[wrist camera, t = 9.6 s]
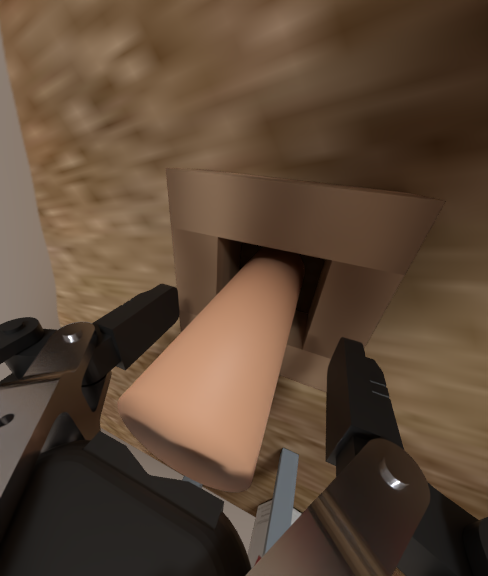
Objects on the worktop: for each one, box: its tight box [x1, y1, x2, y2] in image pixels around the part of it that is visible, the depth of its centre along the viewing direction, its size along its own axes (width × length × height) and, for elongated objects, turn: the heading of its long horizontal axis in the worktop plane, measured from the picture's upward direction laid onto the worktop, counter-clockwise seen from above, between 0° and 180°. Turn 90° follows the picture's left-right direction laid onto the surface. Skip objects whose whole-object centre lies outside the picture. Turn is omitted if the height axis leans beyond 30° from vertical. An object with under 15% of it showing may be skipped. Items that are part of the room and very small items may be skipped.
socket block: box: [166, 168, 446, 393], centre depth 14 cm, size 12×12×4 cm
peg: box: [118, 247, 305, 492], centre depth 10 cm, size 4×4×12 cm
